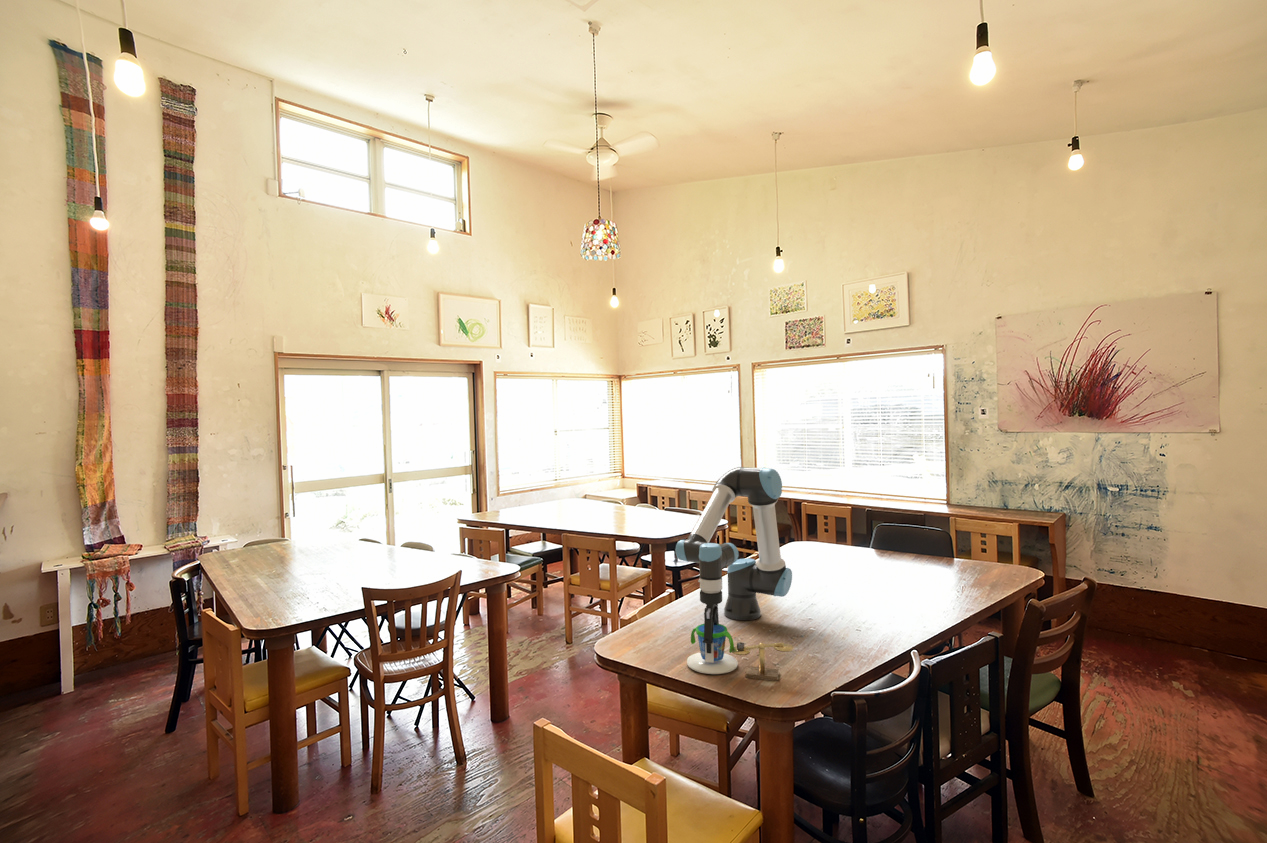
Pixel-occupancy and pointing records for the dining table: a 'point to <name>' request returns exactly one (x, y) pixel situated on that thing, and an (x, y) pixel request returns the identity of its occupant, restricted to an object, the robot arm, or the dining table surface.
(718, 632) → the snack cup
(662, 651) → the dining table surface
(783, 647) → the balance
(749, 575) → the robot arm
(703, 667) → the dish
